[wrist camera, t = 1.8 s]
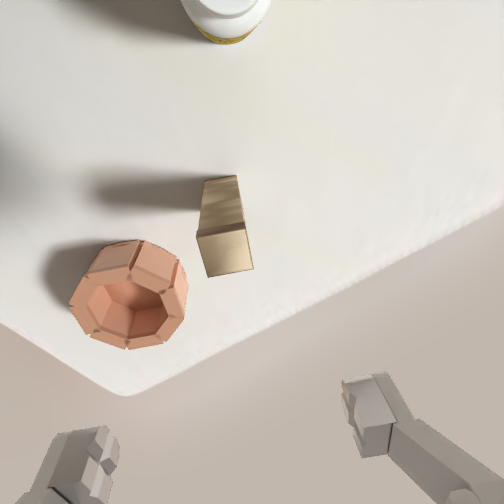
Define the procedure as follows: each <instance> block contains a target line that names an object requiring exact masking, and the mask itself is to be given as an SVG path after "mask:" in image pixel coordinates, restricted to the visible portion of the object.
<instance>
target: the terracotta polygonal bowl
mask: <svg viewBox="0 0 504 504" xmlns="http://www.w3.org/2000/svg"><path fill="white" fill-rule="evenodd" d="M187 291H188V283H187V280H186V275H185V272H184V270H183V267H182V266H181V263H180V260H177V259H176V256H175V255H173V254H171V253H169V252H168V251H166V250H164V249H163V248H161V247H158V246H156V245H153V244H151V243H149V242H147V241H144V242H140V240H135V241H126V242H120V243H116V244H114V245H108V246H105V248H104V249H101V250H100V252H99V253H98V255H97V256H96V258H95V259H94V261H93V263H92V264H91V266H90V267H89V269H88V270H87V272H86V273H85V274H84V276H83V278H82V279H81V281H80V283H79V285H78V287H77V289H76V290H75V292H74V294H73V296H72V298H71V300H70V302H69V303H68V304H70V306H69V309H70V310H71V312H72V314H73V315H74V317H75V318H76V320H77V321H78V323H79V324H80V326H81V328H82V329H83V331H84V332H85V334H86V335H87V334H91V335H90V337H91V338H93V339H96V340H99V341H102V342H105V343H107V344H110V345H113V346H116V347H119V348H121V349H124V350H125V348H126V347H128V349H129V350H131V349H137V348H142V347H148V346H153V345H158V344H163V342H164V341H166V342H167V340H168V339H169V338H170V337H171V335H172V334H173V333H174V331H175V330H176V329H177V328H178V326H179V325H180V324H181V323H182V321H183V320H184V315H185V305H186V298H187Z"/></svg>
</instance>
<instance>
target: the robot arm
mask: <svg viewBox="0 0 504 504" xmlns="http://www.w3.org/2000/svg"><path fill="white" fill-rule="evenodd" d="M342 388H343V391H344V392H343V393H342V403H343V408H344V411H345V415H346V418H347V420H348V423H349V424H350V425H352V426H353V427H354V436H353V437H354V439H355V442H356V445H357V447H358V450H359V452H360V455H361V457H362V458H366V457H372V456H379V455H385V454H388V456H389V457H390V458H391V459H392V460H393V461H394V462H395V463H396V464H397V465H398V466H399V467H400V468H401V469H402V470H403V471H404V472H405V473H406V474H407V475H408V476H409V477H410V478H411V479H412V480H413V481H415V483H416V484H417V485H418V486H419V487H420V488H421V489H422V490H423V491H424V492H425V493H426V494H427V495H428V496H429V497H430V498H431V499H433V501H435V502H436V503H437V504H504V479H503V478H501V477H500V476H498V475H497V474H496V473H494V472H493V471H491V470H490V469H489V468H487V467H486V466H485V465H483V464H482V463H480V462H479V461H478V460H476V459H475V458H473V457H472V456H471V455H469V454H468V453H467V452H465V451H464V450H462V449H461V448H459V447H458V446H457V445H455V444H454V443H453V442H451V441H450V440H448V439H447V438H446V437H444V436H443V435H442V434H440V433H439V432H437V431H436V430H435V429H433V428H432V427H430V426H429V425H427V424H426V423H425V422H424V421H422V420H421V419H415V418H414V417H413V415H412V413H411V411H410V410H409V408H408V406H407V404H406V403H405V401H404V399H403V397H402V396H401V394H400V392H399V390H398V389H397V387H396V385H395V383H394V382H393V380H392V379H391V376H390V375H389V374H388V373H387V372H380V373H375V374H369V375H364V376H359V377H354V378H349V379H345V380H342ZM108 433H109V429H108V428H107V426H106V425H102V426H97V427H91V428H85V429H80V430H73V431H68V432H63V433H58V434H57V435H56V436H55V438H54V439H53V441H52V443H51V445H50V447H49V449H48V452H47V454H46V456H45V458H44V461H43V463H42V465H41V467H40V470H39V472H38V474H37V476H36V479H35V481H34V483H33V485H32V487H31V489H30V492H27V493H24V495H22V497H21V498H20V499H19V500H18V501H17V502H16V503H15V504H107V502H108V499H109V495H110V491H111V487H112V483H113V482H112V479H111V476H110V474H111V473H112V472H113V471H114V469H115V468H116V467H117V462H118V459H119V444H118V441H117V439H116V438H115V437H114V436H111V435H109V434H108Z"/></svg>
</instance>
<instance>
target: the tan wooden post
mask: <svg viewBox="0 0 504 504" xmlns="http://www.w3.org/2000/svg"><path fill="white" fill-rule="evenodd" d="M196 239H197V243H198V246H199V249H200V253H201V256H202V260H203V263H204V266H205V270H206V273H207V276H208V278H209V277H214V276H220V275H225V274H230V273H236V272H241V271H247V270H252V269H254V268H253V263H252V257H251V252H250V247H249V242H248V237H247V231H246V226H245V220H244V214H243V208H242V202H241V197H240V192H239V187H238V181H237V176H236V175H235V176H230V177H225V178H219V179H214V180H209V181H204V188H203V196H202V204H201V211H200V219H199V227H198V230H197V234H196Z"/></svg>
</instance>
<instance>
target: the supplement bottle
mask: <svg viewBox="0 0 504 504" xmlns="http://www.w3.org/2000/svg"><path fill="white" fill-rule="evenodd" d="M180 1H181V3H182V5H183V7H184V9H185V11H186V12H187V14H188V15H189V17H190V19H191V20H192V22H193V23H194V25H195V26H196V27H197V29H198V30H199V31H200V32H201V33H202V34H203V35H204V36H205V37H206V38H208V39H209V40H211V41H213V42H215V43H218V44H225V45H229V44H234V43H237V42H239V41H241V40H243V39H244V38H246V37H247V36H248V35H249V34H250V33H251V32H252V31H253V30H254V29H255V28H256V26H257V25H258V24H259V23H260V22H261V20H262V19H263V18H264V16H265V15H266V13H267V11H268V9H269V7H270V4H271V2H272V0H180Z"/></svg>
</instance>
